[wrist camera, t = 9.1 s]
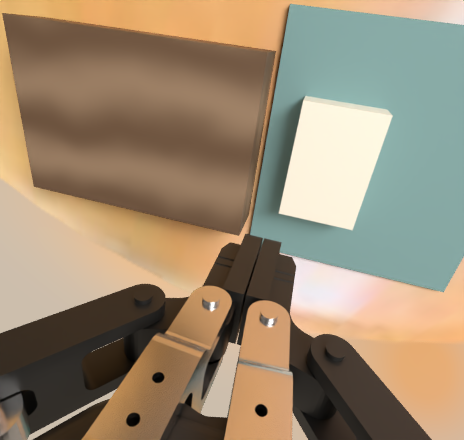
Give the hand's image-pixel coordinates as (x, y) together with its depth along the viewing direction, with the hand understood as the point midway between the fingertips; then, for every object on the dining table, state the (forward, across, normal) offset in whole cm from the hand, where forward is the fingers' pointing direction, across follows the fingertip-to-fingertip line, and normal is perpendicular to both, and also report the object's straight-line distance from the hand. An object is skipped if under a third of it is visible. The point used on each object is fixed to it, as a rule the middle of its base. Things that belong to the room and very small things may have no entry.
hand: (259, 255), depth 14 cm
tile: (+14, -3, 0) cm, 14 cm away
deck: (+16, +13, 0) cm, 21 cm away
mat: (+16, -7, 0) cm, 18 cm away
